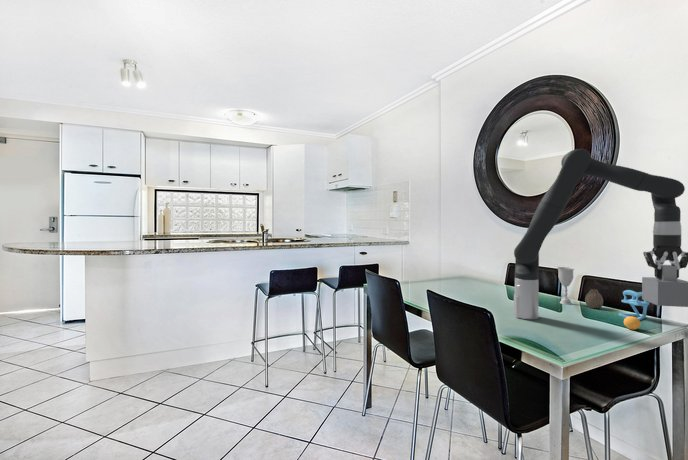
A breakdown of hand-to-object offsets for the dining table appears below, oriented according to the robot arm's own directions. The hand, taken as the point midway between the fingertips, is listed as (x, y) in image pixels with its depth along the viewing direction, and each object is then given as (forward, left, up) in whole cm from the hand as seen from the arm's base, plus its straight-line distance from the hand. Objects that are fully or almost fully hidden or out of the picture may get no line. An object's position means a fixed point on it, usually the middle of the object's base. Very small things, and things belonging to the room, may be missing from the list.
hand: (666, 278), depth 123 cm
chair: (-2, +18, -20) cm, 27 cm away
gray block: (0, 0, -9) cm, 9 cm away
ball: (-11, 0, -18) cm, 21 cm away
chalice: (-22, +38, -20) cm, 48 cm away
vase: (-12, +32, -20) cm, 40 cm away
